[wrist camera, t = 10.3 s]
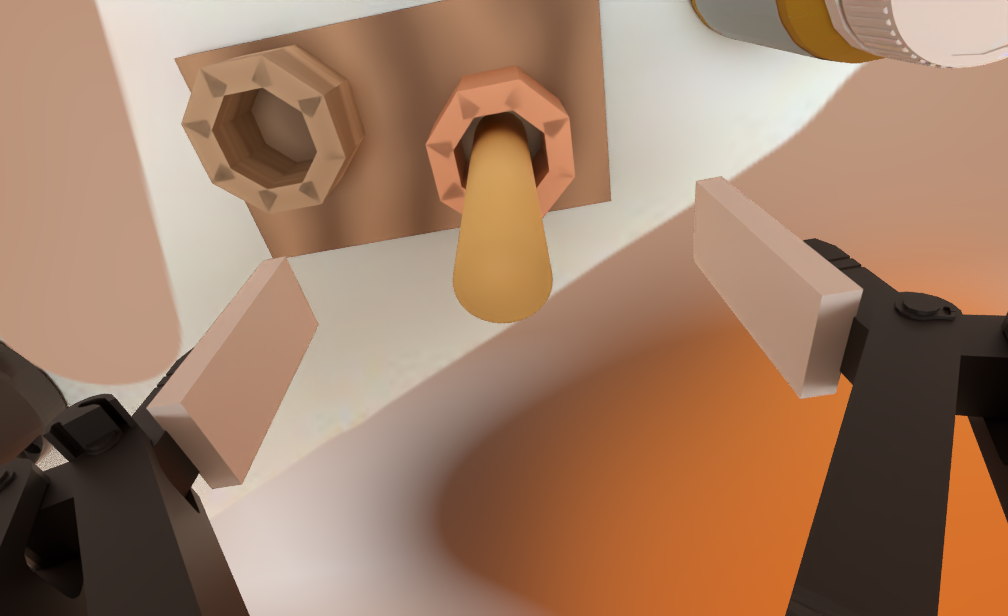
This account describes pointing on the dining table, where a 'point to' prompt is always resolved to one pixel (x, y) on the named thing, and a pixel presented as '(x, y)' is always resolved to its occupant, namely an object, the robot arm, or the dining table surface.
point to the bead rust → (497, 96)
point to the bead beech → (240, 145)
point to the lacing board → (426, 109)
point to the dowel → (501, 227)
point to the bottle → (868, 28)
